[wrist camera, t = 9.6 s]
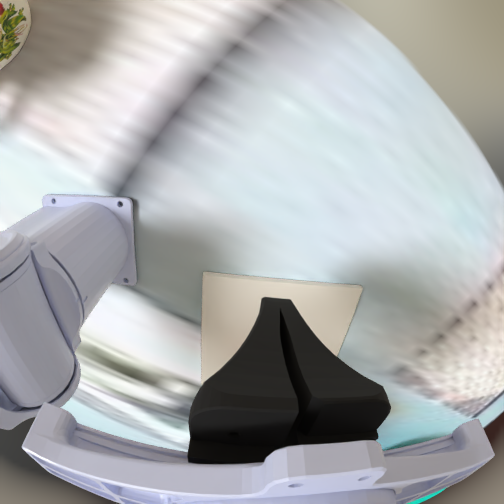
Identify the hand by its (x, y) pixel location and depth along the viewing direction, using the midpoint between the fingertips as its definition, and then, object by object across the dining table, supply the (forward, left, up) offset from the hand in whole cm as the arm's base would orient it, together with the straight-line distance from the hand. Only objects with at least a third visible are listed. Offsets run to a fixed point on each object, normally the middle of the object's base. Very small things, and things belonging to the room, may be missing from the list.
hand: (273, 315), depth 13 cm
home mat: (+2, -13, -10) cm, 17 cm away
